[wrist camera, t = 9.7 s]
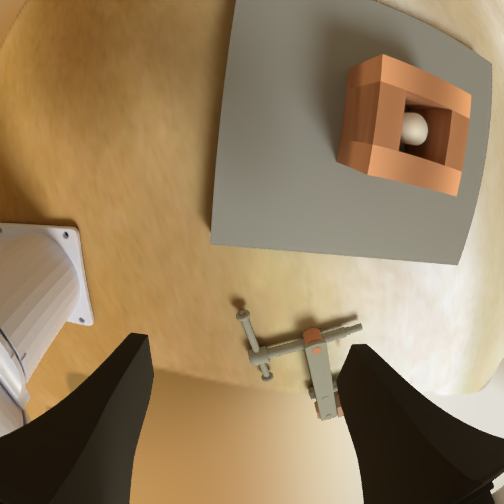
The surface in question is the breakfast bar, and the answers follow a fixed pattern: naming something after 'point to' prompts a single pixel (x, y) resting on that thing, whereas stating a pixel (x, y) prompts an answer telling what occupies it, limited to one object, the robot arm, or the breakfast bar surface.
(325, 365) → the clamp
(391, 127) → the collar block
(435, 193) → the pin board
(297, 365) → the breakfast bar surface
